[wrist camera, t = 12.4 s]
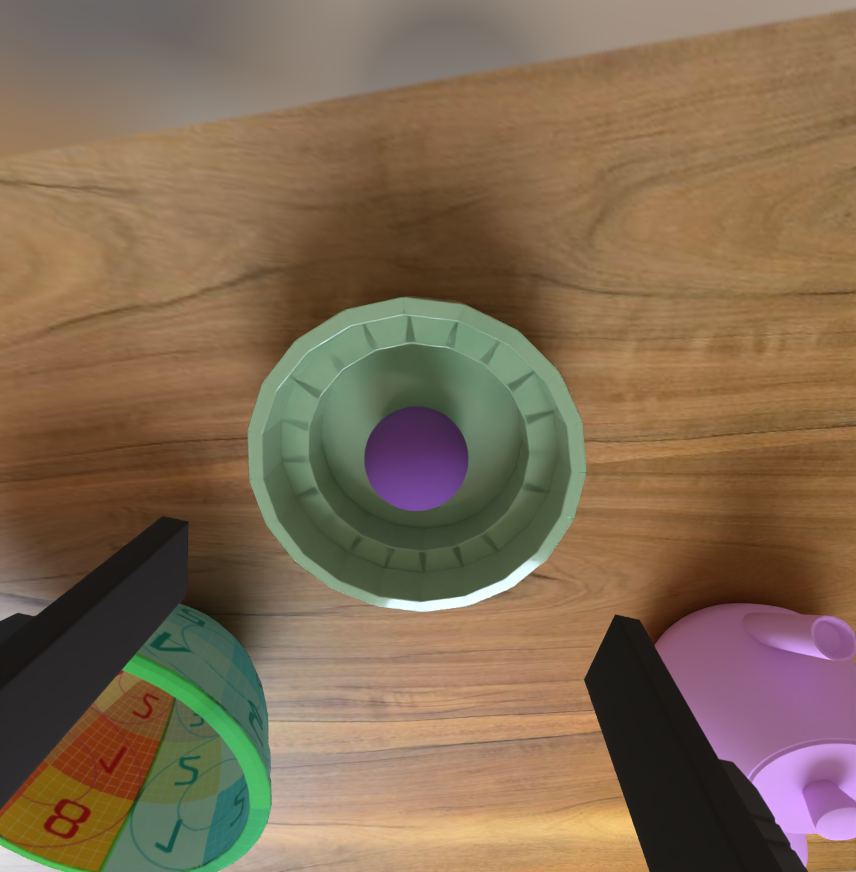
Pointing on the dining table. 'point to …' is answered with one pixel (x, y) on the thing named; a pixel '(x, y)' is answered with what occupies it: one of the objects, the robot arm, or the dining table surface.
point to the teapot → (776, 707)
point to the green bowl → (422, 387)
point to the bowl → (155, 764)
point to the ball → (416, 458)
